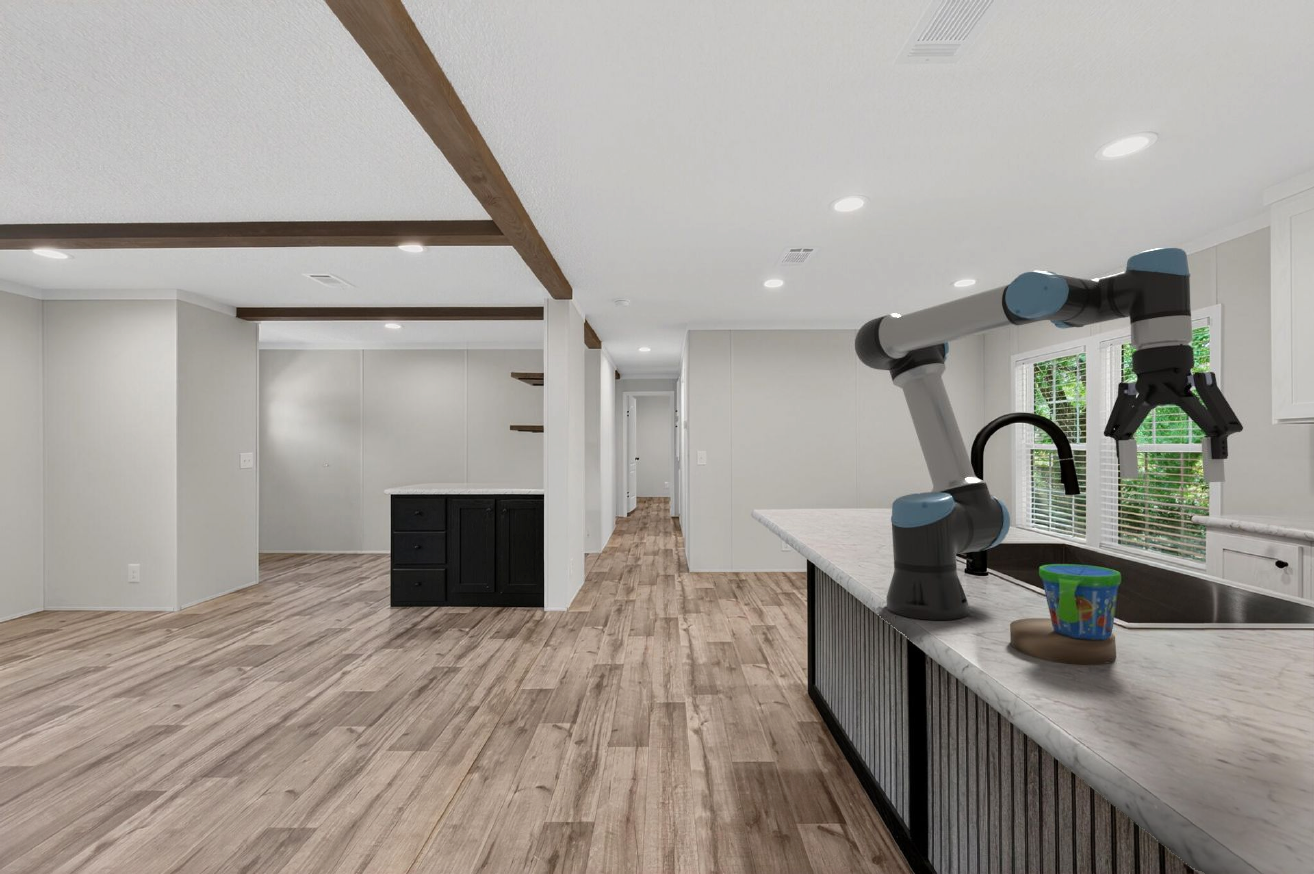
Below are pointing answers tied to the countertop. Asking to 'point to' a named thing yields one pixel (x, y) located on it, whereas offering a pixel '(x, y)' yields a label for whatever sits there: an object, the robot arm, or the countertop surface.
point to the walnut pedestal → (1059, 643)
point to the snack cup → (1081, 599)
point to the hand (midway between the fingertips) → (1168, 480)
